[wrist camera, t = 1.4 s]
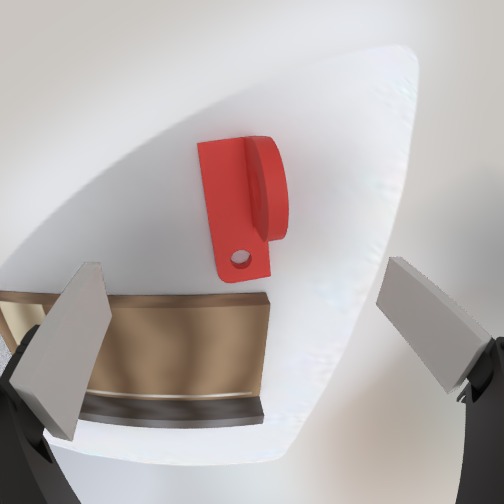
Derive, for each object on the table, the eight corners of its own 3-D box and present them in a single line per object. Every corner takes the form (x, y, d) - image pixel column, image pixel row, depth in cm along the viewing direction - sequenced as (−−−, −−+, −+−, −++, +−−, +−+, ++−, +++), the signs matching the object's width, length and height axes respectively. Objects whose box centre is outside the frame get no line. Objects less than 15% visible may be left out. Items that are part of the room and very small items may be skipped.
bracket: (197, 143, 20) (194, 148, 13) (255, 135, 20) (283, 137, 13) (219, 278, 25) (227, 336, 18) (268, 270, 25) (293, 324, 18)
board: (39, 382, 27) (29, 407, 23) (-7, 290, 21) (-27, 314, 16) (255, 392, 33) (262, 423, 28) (265, 292, 26) (278, 325, 22)
